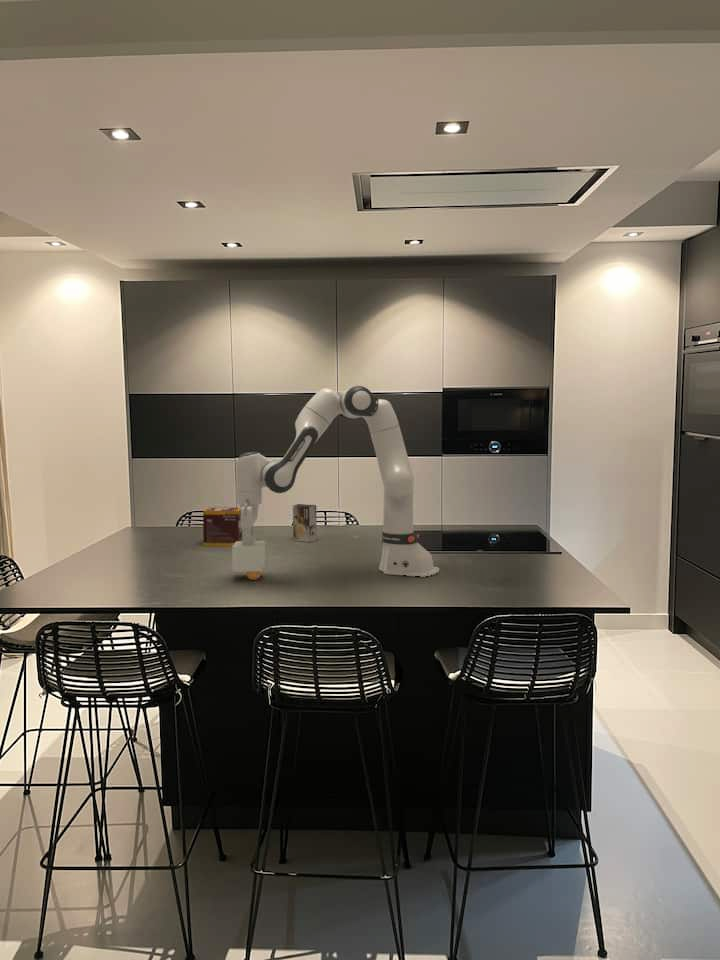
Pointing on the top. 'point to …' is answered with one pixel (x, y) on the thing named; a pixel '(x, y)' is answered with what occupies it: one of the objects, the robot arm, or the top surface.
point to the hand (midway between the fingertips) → (249, 537)
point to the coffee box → (304, 523)
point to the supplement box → (221, 526)
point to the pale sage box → (248, 554)
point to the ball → (253, 575)
